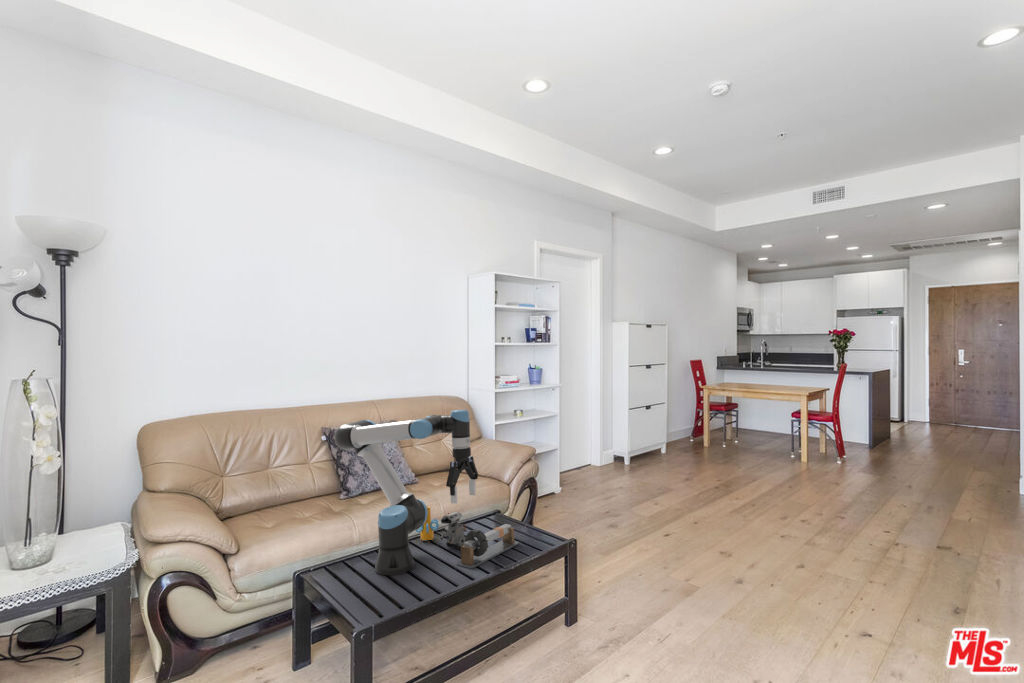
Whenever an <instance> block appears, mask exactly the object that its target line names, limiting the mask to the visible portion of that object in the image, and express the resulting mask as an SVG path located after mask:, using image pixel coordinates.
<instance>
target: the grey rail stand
mask: <svg viewBox="0 0 1024 683" xmlns="http://www.w3.org/2000/svg"><path fill="white" fill-rule="evenodd" d="M484 534H485V536H486V537H487V538H486V539H485V540H488V544H489V543H491V542H493V541H495V540H497V539H500V538H502V539H501V540H499V541H498V542H495V543H494V544H492V545H490V546H488V548H487V551H486V552H485V553H484V554H483V555H481V556H479V557H477V556H474V553H473V550H475V549H477V548H480V545H479V541H478V539H477V538H475V537H474V538H473V539H471V540H469V541H467V542H465V543H464V545H463V546H461V549H460V561H458V562H456V565H457V566H460V567H463V568H467V569H474V568H476V567H478V566H480V565H481V564H483V563H485V562H487V561H489V560H491V559H494V558H495V557H496V556H499V555H501V554H502V553H504V552H507V551H509V550H510V549H512V548H513V547H515V546H517V545H519V541H516V540H515V528H514V527H513V526H512V524H508V523H504V524H502V525H500V526H497V527H495V528H493V529H491V530H489V531H487V532H485V533H484Z"/></svg>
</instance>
